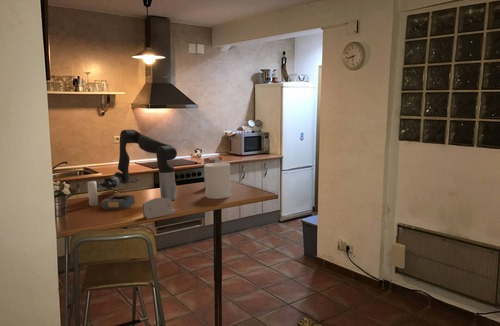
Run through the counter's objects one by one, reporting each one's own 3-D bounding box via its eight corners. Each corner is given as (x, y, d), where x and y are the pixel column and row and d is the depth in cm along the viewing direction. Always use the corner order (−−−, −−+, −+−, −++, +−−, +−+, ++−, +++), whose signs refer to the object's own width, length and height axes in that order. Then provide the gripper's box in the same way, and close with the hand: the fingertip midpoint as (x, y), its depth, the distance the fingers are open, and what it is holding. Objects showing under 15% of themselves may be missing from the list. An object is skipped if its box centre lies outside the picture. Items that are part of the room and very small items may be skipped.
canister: (203, 194, 261) (201, 163, 258) (227, 192, 265) (226, 161, 263) (208, 199, 246) (207, 167, 243) (234, 197, 250) (232, 165, 248)
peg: (99, 203, 244) (97, 181, 242) (96, 206, 239) (94, 182, 237) (91, 204, 244) (89, 181, 242) (87, 206, 239) (85, 182, 237)
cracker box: (211, 188, 279) (209, 158, 276) (204, 187, 283) (202, 158, 280) (223, 184, 291) (222, 155, 288) (216, 184, 294) (215, 155, 291)
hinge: (146, 219, 207) (142, 200, 208) (143, 220, 211) (139, 201, 212) (176, 213, 216) (172, 195, 218) (173, 214, 220) (169, 196, 222)
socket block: (134, 203, 243) (134, 195, 242) (125, 209, 228) (125, 200, 228) (112, 203, 244) (111, 195, 243) (101, 209, 230) (101, 201, 229)
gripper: (100, 176, 267) (89, 181, 251) (121, 176, 266) (111, 181, 250) (101, 188, 268) (90, 193, 252) (122, 187, 267) (112, 193, 251)
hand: (100, 187), depth 251 cm, fingers open, 8 cm apart
